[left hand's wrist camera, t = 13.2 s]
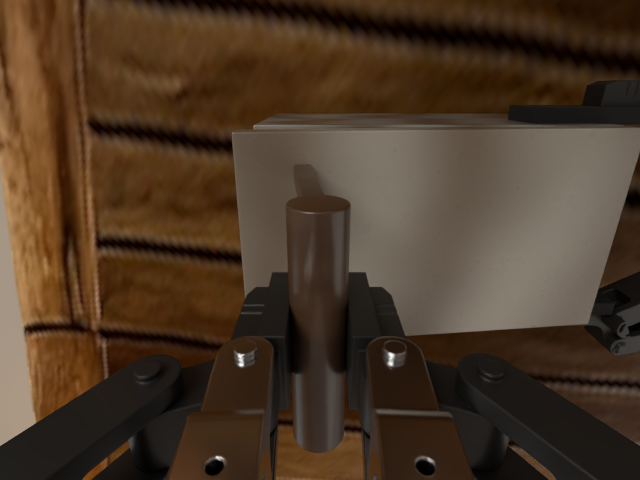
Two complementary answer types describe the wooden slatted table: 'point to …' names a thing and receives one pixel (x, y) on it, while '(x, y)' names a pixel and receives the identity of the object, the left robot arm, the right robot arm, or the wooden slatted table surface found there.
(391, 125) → the chest
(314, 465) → the wooden slatted table surface
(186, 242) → the wooden slatted table surface
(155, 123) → the wooden slatted table surface
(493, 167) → the lid
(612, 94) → the right robot arm
